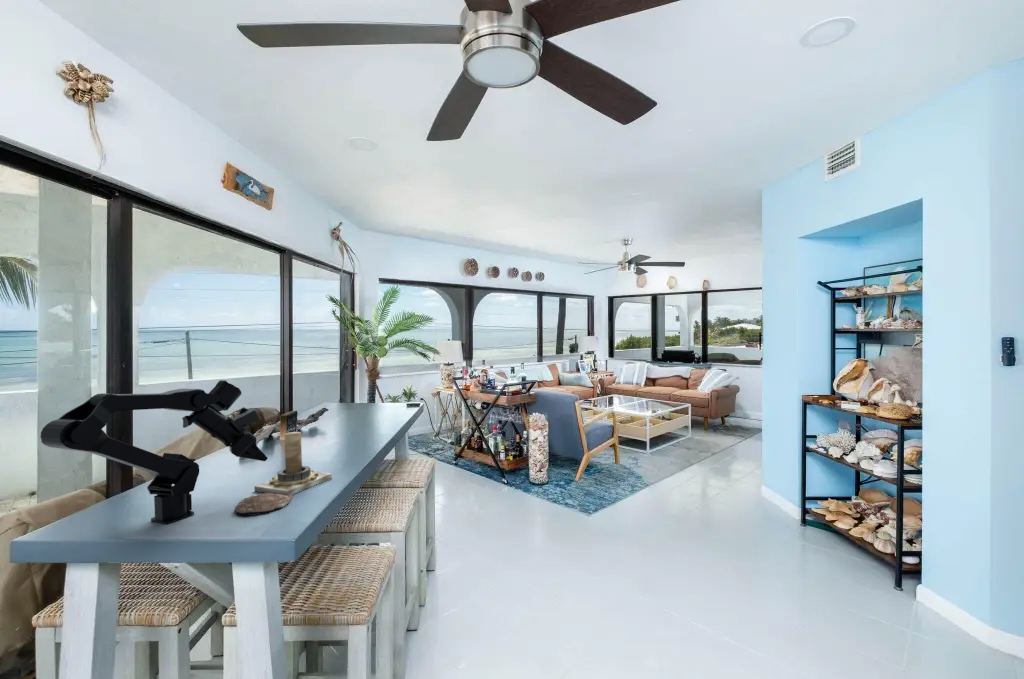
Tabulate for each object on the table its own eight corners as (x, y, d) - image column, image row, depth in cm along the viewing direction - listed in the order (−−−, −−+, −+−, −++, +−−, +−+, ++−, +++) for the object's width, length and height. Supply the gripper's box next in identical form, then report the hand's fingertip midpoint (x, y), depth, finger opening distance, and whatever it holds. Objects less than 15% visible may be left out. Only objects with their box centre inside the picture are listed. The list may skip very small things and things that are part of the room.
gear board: (287, 496, 122) (287, 481, 122) (254, 491, 127) (254, 476, 127) (331, 478, 137) (331, 464, 136) (300, 474, 142) (300, 460, 141)
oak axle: (293, 480, 129) (291, 435, 128) (282, 478, 130) (281, 434, 130) (305, 475, 133) (304, 432, 133) (294, 473, 134) (293, 431, 134)
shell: (284, 513, 111) (284, 499, 111) (227, 520, 108) (226, 506, 108) (294, 497, 122) (293, 484, 122) (242, 503, 119) (241, 490, 119)
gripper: (245, 403, 116) (292, 438, 123) (234, 396, 130) (277, 428, 137) (209, 438, 111) (261, 473, 118) (202, 427, 125) (248, 458, 132)
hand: (263, 456), depth 126 cm, fingers open, 9 cm apart
